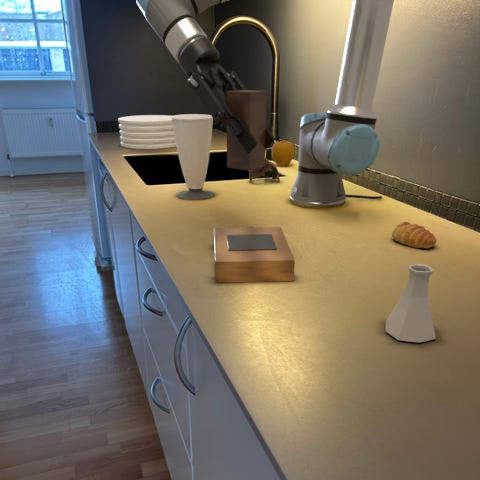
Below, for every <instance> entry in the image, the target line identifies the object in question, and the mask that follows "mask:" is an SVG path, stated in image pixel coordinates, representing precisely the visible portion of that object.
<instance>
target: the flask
mask: <svg viewBox="0 0 480 480" xmlns="http://www.w3.org/2000/svg"><path fill="white" fill-rule="evenodd" d="M408 272H409V275H408V279H407V282H406V285H405V288H404V291H403V292H402V294H401V296H400V297H399V300H398V301H397V303H396V305H395V306H394V308H393V310H392V311H391V313H389V316H388V317H387V319H386V321H385V324H384V325H385V332H386V333H387V334H389V335H390V336H391V337H393V338H395V339H396V340H397V341H400V342H401V341H402V342H410V343H411V342H412V343H418V344H419V343H425V342H428V341H433V340H436V339H437V335H436V330H435V326H434V322H433V321H434V320H433V317H432V311H431V304H430V299H429V282H430V276H431V275H433V273H434V270H433V267H432V266H429V265H427V264H424V263H414V264H412V263H411V264H409V265H408Z"/></svg>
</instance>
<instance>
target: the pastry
mask: <svg viewBox="0 0 480 480" xmlns="http://www.w3.org/2000/svg"><path fill="white" fill-rule="evenodd" d="M391 236H392V238H393V239H394V241H395V242H399V243H400V244H403V245H406V246H408V247H412V248H416V249H421V248H423V249H429V248H431V247H434V246H435V245H436V243H437V242H438V241H437V238H436V236H435V235H434V234H433V233H432V232H431V231H430V230H428V229H426V228H425V226H424V225H423V226H422V225H420V224H418V223H411V222H409V221H402V222H400V223H399V224H397V225H396V226H395V228H394V229H393V231H392V233H391Z"/></svg>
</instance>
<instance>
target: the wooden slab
mask: <svg viewBox="0 0 480 480" xmlns="http://www.w3.org/2000/svg"><path fill="white" fill-rule="evenodd" d="M282 229H283V228H282V227H281V226H257V227H256V226H255V227H253V226H250V227H213V235H214V236H213V237H214V238H213V241H214V243H213V244H214V272H215V273H214V276H215V283H216V284H219V283H220V284H221V283H222V284H223V283H225V284H226V283H260V282H261V283H262V282H263V283H265V282H267V283H268V282H270V283H271V282H294V281H295V267H296V266H295V264H296V260H295V257H294V255H293V253H292V249H290V246H289V243H288V241H287V239H286V236H285V234H284V231H283V230H282Z"/></svg>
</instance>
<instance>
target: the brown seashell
mask: <svg viewBox="0 0 480 480" xmlns="http://www.w3.org/2000/svg"><path fill="white" fill-rule="evenodd" d="M270 176H271V180H276V181H277V183H278V184H280V182H281V178H280V172H279V170H278V168H277V166H276V164H275V163H274V162H272V161H270V160H269V158H267V157H265V166H264V167H261V168H257V169H254V170H250V171H248V178H249V182H252V181H253V179H254V180H255V179H258V178H260V177H263V178H264V177H265V178H267V177H268V178H269V177H270Z"/></svg>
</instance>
